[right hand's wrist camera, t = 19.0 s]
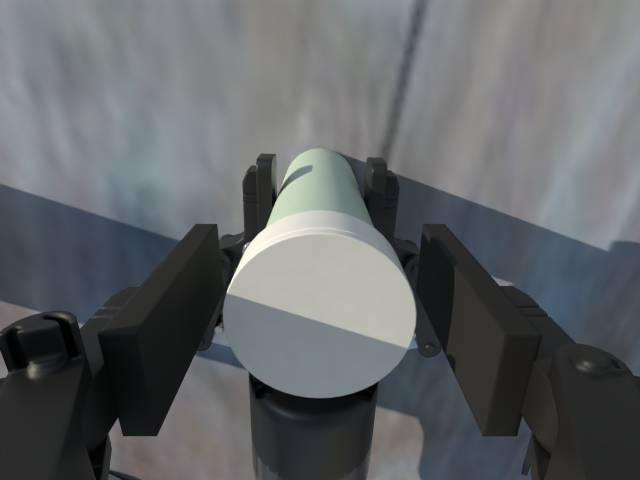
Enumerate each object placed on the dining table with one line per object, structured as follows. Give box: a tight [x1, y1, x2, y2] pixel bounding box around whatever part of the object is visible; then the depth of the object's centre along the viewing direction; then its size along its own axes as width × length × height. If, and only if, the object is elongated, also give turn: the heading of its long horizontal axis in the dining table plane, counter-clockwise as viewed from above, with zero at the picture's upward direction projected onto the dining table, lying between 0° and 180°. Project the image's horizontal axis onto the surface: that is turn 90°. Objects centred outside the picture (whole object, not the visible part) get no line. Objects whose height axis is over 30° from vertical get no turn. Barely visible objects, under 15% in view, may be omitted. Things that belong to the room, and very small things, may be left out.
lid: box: [223, 210, 417, 398], centre depth 11 cm, size 5×5×2 cm
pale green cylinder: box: [266, 148, 374, 228], centre depth 18 cm, size 4×4×15 cm
